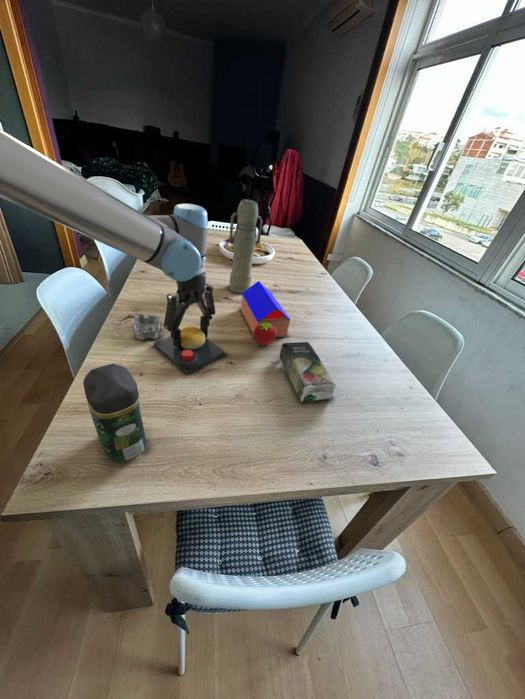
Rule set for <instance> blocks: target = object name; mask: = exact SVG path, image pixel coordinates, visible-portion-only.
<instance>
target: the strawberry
mask: <svg viewBox="0 0 525 699" xmlns="http://www.w3.org/2000/svg"><path fill="white" fill-rule="evenodd" d="M263 323H264V324H262V323H260V324H258V326H257V327H255V329H254V334H253V337H254V338H255V340H256V342H257V343H258V344H259V345H260V347H264V346H266V345H268V344H270V343H271V342H272V341H274V339H276V338H277V337H276V335H277V330H276V328H275V327H274V326H272V325H274V324H269V322H268V323H266V322H264V321H263Z"/></svg>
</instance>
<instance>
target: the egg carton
mask: <svg viewBox="0 0 525 699" xmlns="http://www.w3.org/2000/svg"><path fill="white" fill-rule="evenodd" d="M133 328H134V333H135V335H136V339H139V340H141V341H145V340H146V339H149V338H150V339H152V340H156V339H157V338H160V337H161V331H160V329H161V317H160V315H159V314H152V315H150V314H147V316H144V314H142V313H137V312H135V314H134V325H133Z"/></svg>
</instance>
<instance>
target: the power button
mask: <svg viewBox="0 0 525 699" xmlns="http://www.w3.org/2000/svg"><path fill="white" fill-rule="evenodd" d="M182 359H183V360H184V361H191V360H192V359H193V352H192V351H191V350H184V351H183V352H182Z"/></svg>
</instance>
